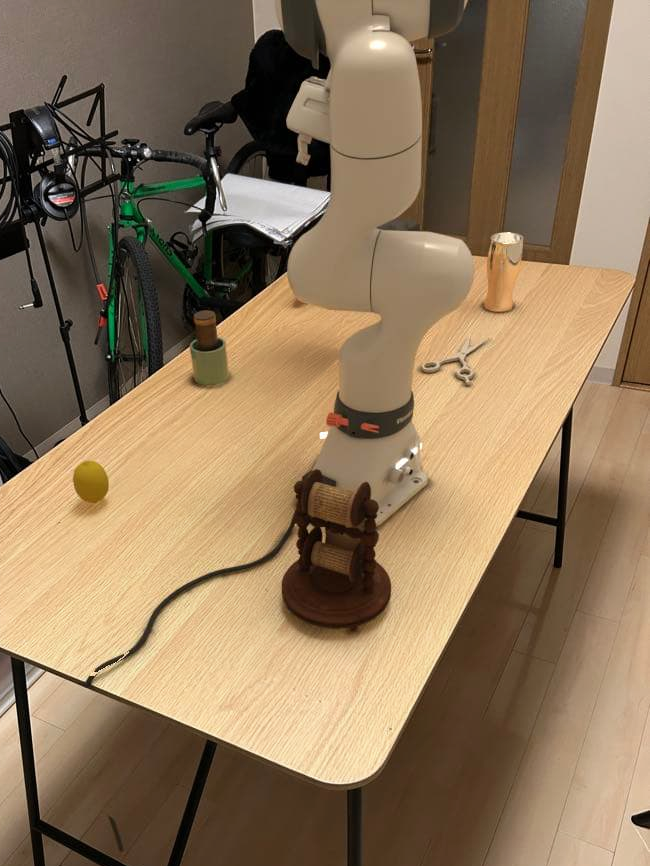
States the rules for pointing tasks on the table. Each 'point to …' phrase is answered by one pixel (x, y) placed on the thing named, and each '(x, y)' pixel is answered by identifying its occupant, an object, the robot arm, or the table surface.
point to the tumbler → (209, 364)
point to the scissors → (458, 356)
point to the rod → (206, 331)
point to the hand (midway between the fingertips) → (321, 170)
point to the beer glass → (502, 270)
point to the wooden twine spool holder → (335, 557)
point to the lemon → (90, 481)
